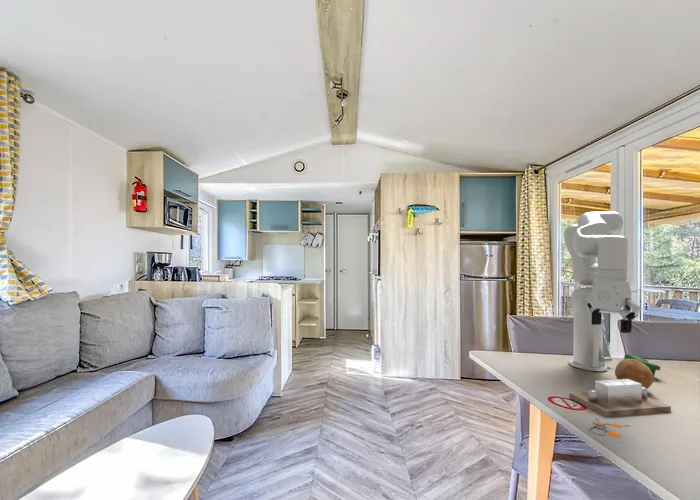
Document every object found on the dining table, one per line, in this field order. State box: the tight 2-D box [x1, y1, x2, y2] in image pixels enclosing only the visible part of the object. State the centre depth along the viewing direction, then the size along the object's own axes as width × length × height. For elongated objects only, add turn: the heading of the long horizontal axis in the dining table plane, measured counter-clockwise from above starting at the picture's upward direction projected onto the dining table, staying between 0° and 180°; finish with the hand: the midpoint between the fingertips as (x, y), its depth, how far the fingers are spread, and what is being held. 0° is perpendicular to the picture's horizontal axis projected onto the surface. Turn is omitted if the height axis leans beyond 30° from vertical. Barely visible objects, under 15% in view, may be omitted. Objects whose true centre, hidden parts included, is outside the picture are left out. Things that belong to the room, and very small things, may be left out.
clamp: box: [623, 353, 662, 377], centre depth 125 cm, size 12×6×9 cm, turn 162°
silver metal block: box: [594, 379, 642, 403], centre depth 98 cm, size 4×12×5 cm, turn 101°
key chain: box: [587, 417, 631, 439], centre depth 84 cm, size 13×7×1 cm, turn 127°
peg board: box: [569, 387, 672, 418], centre depth 98 cm, size 22×12×4 cm, turn 101°
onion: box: [614, 358, 655, 389], centre depth 110 cm, size 10×10×10 cm
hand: (610, 328), depth 104 cm, fingers open, 9 cm apart
